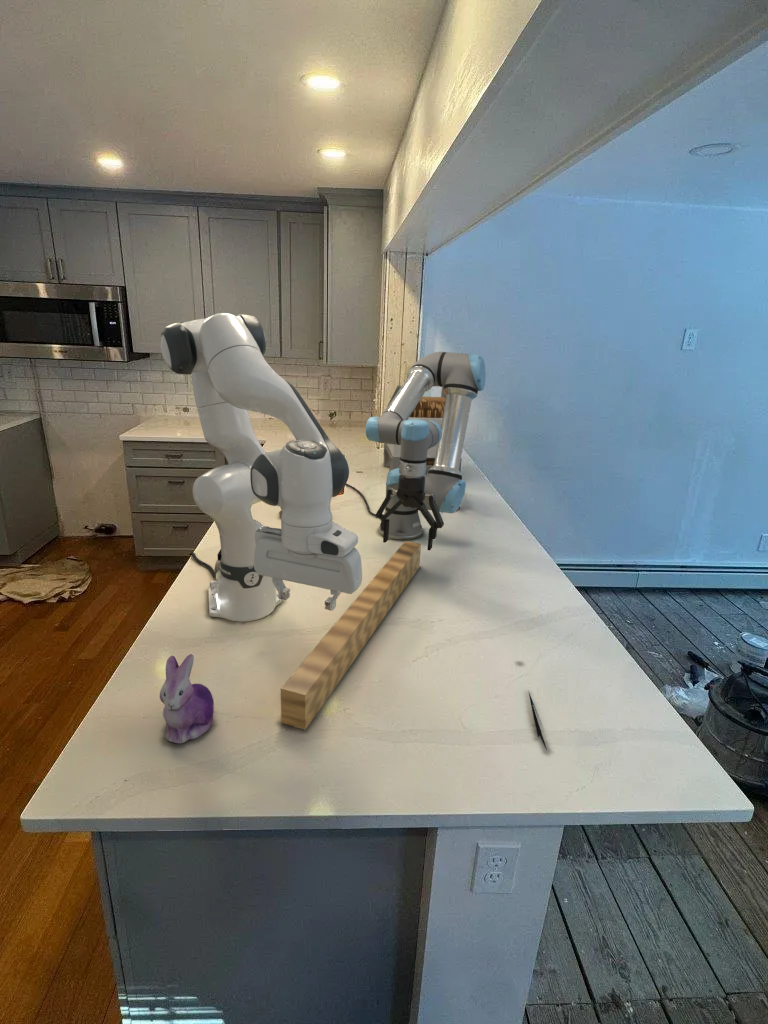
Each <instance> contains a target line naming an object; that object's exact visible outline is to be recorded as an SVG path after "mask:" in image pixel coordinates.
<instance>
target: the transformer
mask: <svg viewBox="0 0 768 1024" xmlns="http://www.w3.org/2000/svg"><path fill="white" fill-rule="evenodd" d="M401 386H402V385H399V384H398V385H397V386H396V388H395V390H394V392H393V394H392V395H391V398H390V400H389V402H388V404H387V405H386V408H387V407H388V405H389V404H390V402H391V401H392V400H393V398H394V397H395V395H396V394H397V392H398V391H399V389H400V388H401ZM443 389H444V387H441V392H440V393H441V394H440V396H422V398H421V399H420V401H419V402H418V404H417V406H416V407H415V409H414V410H413V412H412V413H411V415H410V417H409V418H408V420H411V419H417V420H424V421H433V422H436V423H437V424H438V425H439V426H440V428H441V424H442V418H443V413H444V408H445V402H446V395H445V393H444V392H443ZM437 445H438V443H437V444H436V445H435V446H434V447H431V448H429V449H428V450H427V462H426V467H432V466H433V465H434V461H435V456H436V451H437ZM400 452H401V445H395V444H386V443H383V466H384V467H388V468H389V472H390V471H391V470H393V469H397V468H400ZM462 461H463V460H462V457H461V460H460V466H459V471H460V473H461V472H462ZM461 474H462V473H461Z"/></svg>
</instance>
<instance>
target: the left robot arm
mask: <svg viewBox="0 0 768 1024" xmlns="http://www.w3.org/2000/svg"><path fill="white" fill-rule="evenodd" d="M159 345H160V346H159V347H160V351H161V357H162V359H163V360H164V362H165V364H166V365H167V366H168V369H169V370H170V371H172V372H173V373H175V374H178V375H191V380H192V382H191V383H192V390H193V397H194V402H195V406H196V411H197V413H198V414H197V415H198V416H199V417H198V418H199V422H200V426H201V430H202V434H203V437H204V439H205V441H206V443H207V444H209V445H210V446H212V447H214V448H217V449H218V450H219V451H220V452H221V453H222V454H223V456H224V457H225V459H226V461H227V464H224V465H221V466H217V467H213V468H212V469H210V470H207V471H206V472H204V473H203V474H202V475H200V476H198V477H197V478H196V479H195V481H194V482H193V485H192V498H193V500H194V503H195V505H196V507H197V508H198V509H199V511H201V512H202V513H203V514H205V515H207V516H208V517H210V518H211V519H212V520H213V522H214V523H215V525H216V527H217V530H218V534H219V542H220V549H221V555H222V558H221V559H220V567H218V568H215V567H214V568H213V567H212V566H211V565H210V564H209V563H207V562H205V561H202V560H201V559H199V558H198V557H197V555H196V553H195V552H193V551H191V552H190V553H189V556H190V557H191V556H192V558H193V560H194V561H195V562H197V563H198V564H200V565H202V566H204V567H206V568H207V569H208V570H209V571H210V573H211V576H212V577H213V578H214V580H210V581H209V587H208V589H207V595H208V596H207V597H208V610H209V611H208V615H209V616H210V617H213V618H222V619H225V620H229V621H233V622H253V621H257V620H259V619H263V618H265V617H267V616H269V615H270V614H272V613H273V611H274V610H275V608H276V607H277V606H278V605H279V604H282V602H283V601H287V600H288V599H289V598H290V595H291V593H290V592H291V589H290V588H289V587H287V586H286V585H285V582H284V581H286V582H292V583H294V584H295V583H296V584H301V585H305V586H311V587H315V588H319V589H325V590H329V591H330V595H331V597H330V596H328V598H326V600H325V601H324V609H325V610H327V611H335V609H336V607H337V599H338V598H339V596H340V595H341V593H343V594H347V595H352V594H354V593H355V592H356V591H357V590H359V588H360V587H361V585H362V583H363V566H362V557H361V553H360V551H359V550H358V549H357V548H356V546H357V545H358V543H359V536H358V534H357V533H355V532H354V531H351V530H350V529H347V528H346V527H343V526H341V525H340V524H338V523H336V522H335V521H333V512H332V511H331V502H332V498H335V497H337V496H338V495H339V494H340V493H341V492H342V491H343V489H344V488H345V486H347V485H346V484H348V480H349V477H350V467H349V464H348V461H347V458H346V456H345V455H344V453H343V452H342V451H341V450H340V449H339V447H337V445H336V444H335V443H334V442H333V441H332V440H331V439H330V438H329V436H328V435H327V433H326V431H325V429H323V427H322V426H321V424H320V423H319V421H318V420H317V418H316V417H315V415H314V413H313V412H312V410H311V408H310V407H309V406H308V404H307V402H306V401H305V399H304V398H303V396H301V394H300V393H299V391H298V390H297V388H296V387H295V386H294V385H293V384H292V383H291V382H290V381H288V380H286V379H284V378H283V377H282V376H281V375H279V374H278V373H277V372H276V371H275V370H274V369H273V368H272V367H271V366H270V364H269V363H268V362H267V361H266V359H265V357H264V355H265V354H266V351H267V349H266V348H267V339H266V333H265V331H264V328H263V326H262V324H261V322H260V321H259V319H258V318H256V316H254V315H251V314H250V315H249V314H242V313H239V314H237V315H235V314H232V313H229V312H219V313H214V314H213V315H210V316H208V317H205V318H199V319H198V318H197V319H193V320H189V321H185V322H182V323H181V322H174V323H171V324H169V325H167V326H165V327H164V328H163V330H162V331H161V333H160V344H159ZM249 411H250V412H255V413H260V414H263V415H267V416H270V417H273V418H276V419H277V420H280V422H282V423H283V424H284V425H286V426H287V428H288V430H289V431H290V432H291V434H292V436H293V437H294V439H293V440H289V441H288V442H286V443H285V444H284V445H283V446H282V448H280V449H278V450H273V451H268V452H267V451H266V450H265V449H264V447H263V446H262V444H261V443H260V441H259V440H258V437H257V436H256V434H255V431H254V428H253V425H252V421H251V417H250V415H249ZM260 502H263V503H264V504H266V505H269V506H273V507H280V509H281V508H282V509H281V510H282V516H281V518H280V527H281V528H278V527H270V526H267V525H264V524H262V523H261V522H260V521H259V520H257V519H254V517H253V515H252V506H253V505H255V504H258V503H260Z"/></svg>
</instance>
